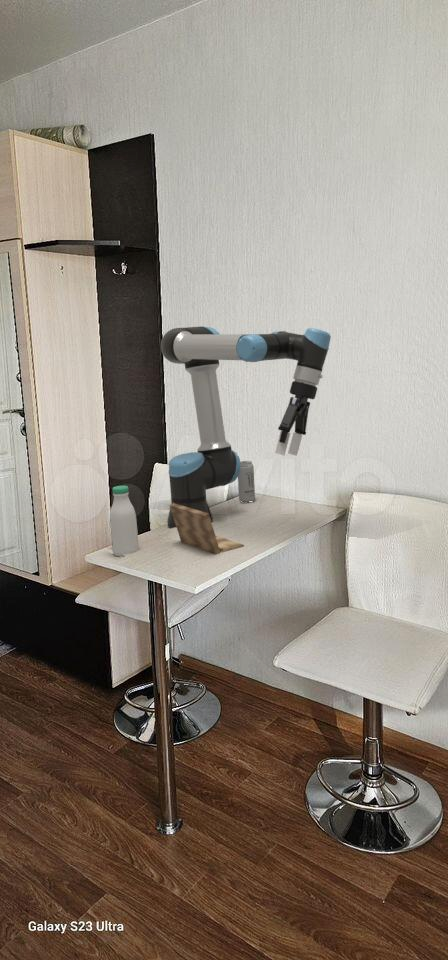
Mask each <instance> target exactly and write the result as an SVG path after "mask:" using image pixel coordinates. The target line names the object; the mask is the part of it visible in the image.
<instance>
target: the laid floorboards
mask: <svg viewBox="0 0 448 960" xmlns="http://www.w3.org/2000/svg"><path fill="white" fill-rule="evenodd" d="M215 536H216V539H217V543H218V546H219V549H220V554H221V553H222V554H223V553H225V552H228V551H233V550H236V549H240V548H243V547H245V544H243V543H241V542H240V543H239V542H237V541H234V540H231V539H228V538H225V537H221V536H218V535H216V534H215Z"/></svg>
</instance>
